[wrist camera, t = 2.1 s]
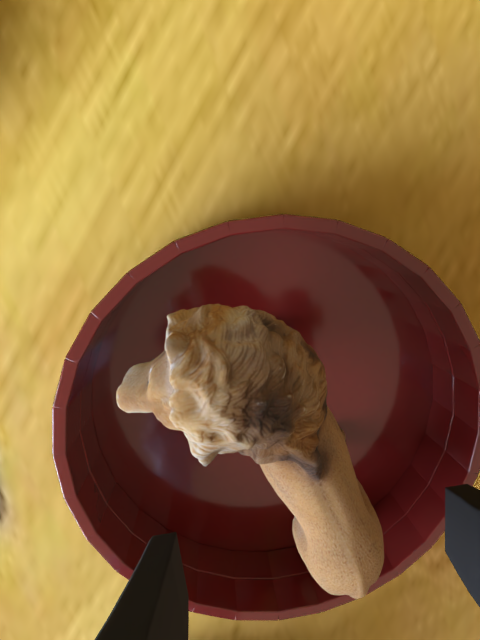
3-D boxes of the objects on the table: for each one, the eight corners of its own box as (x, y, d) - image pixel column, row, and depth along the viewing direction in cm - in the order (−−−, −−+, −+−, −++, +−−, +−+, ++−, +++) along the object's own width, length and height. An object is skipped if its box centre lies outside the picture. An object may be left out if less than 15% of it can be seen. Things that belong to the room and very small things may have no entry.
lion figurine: (135, 320, 17) (54, 415, 8) (234, 247, 16) (265, 263, 8) (316, 542, 20) (401, 783, 11) (402, 485, 20) (559, 687, 11)
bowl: (440, 525, 21) (486, 583, 17) (121, 580, 20) (103, 652, 16) (438, 196, 17) (497, 186, 13) (42, 246, 16) (-3, 249, 12)
